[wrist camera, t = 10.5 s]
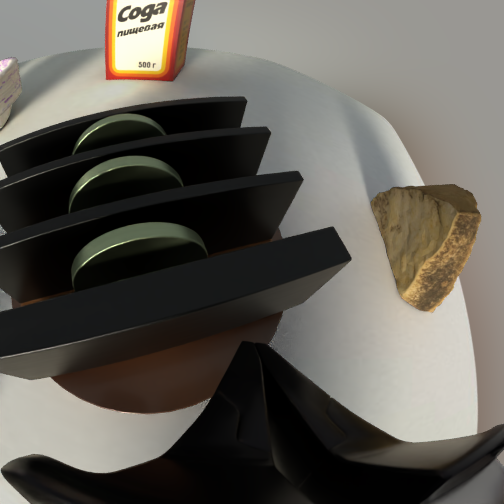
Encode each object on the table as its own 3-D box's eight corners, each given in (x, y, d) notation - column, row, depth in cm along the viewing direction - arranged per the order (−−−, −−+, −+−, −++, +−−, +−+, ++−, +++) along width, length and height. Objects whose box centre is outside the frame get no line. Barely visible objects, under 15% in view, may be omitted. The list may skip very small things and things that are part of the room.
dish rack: (296, 308, 15) (361, 251, 9) (39, 382, 9) (-42, 360, 4) (225, 163, 19) (245, 86, 14) (30, 207, 14) (-4, 135, 8)
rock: (355, 166, 22) (356, 240, 16) (439, 137, 17) (483, 204, 11) (390, 248, 27) (393, 327, 21) (459, 229, 22) (481, 308, 16)
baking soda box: (106, 79, 26) (110, -28, 12) (124, 62, 29) (132, -30, 16) (172, 81, 28) (191, -34, 14) (184, 64, 31) (202, -32, 18)
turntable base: (222, 461, 11) (225, 468, 10) (-15, 310, 11) (-27, 303, 10) (306, 216, 21) (314, 204, 20) (115, 140, 21) (113, 127, 19)
